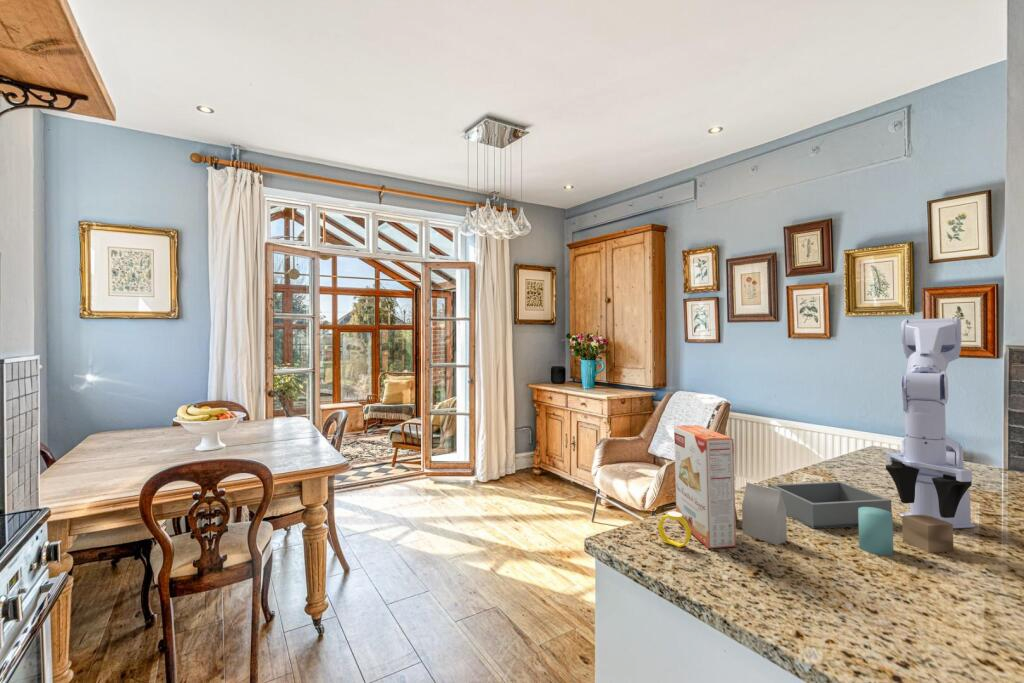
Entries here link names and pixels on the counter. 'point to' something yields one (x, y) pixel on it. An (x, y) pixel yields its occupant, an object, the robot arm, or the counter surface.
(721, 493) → the cracker box
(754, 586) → the counter surface
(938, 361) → the robot arm
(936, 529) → the walnut cube
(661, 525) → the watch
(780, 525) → the tea bag
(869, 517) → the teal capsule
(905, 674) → the counter surface
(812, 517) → the tote
